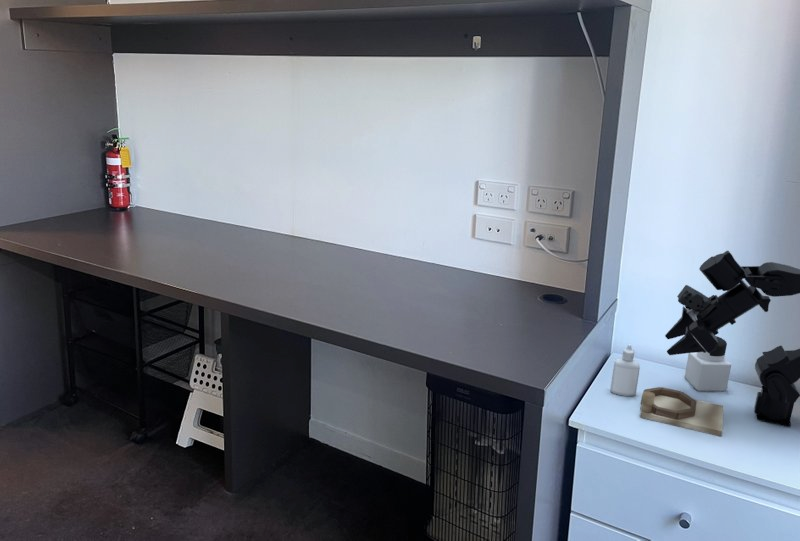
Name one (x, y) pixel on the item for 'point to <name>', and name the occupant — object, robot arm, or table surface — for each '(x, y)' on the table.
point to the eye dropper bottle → (625, 374)
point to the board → (695, 423)
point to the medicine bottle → (709, 369)
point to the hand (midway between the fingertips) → (667, 345)
